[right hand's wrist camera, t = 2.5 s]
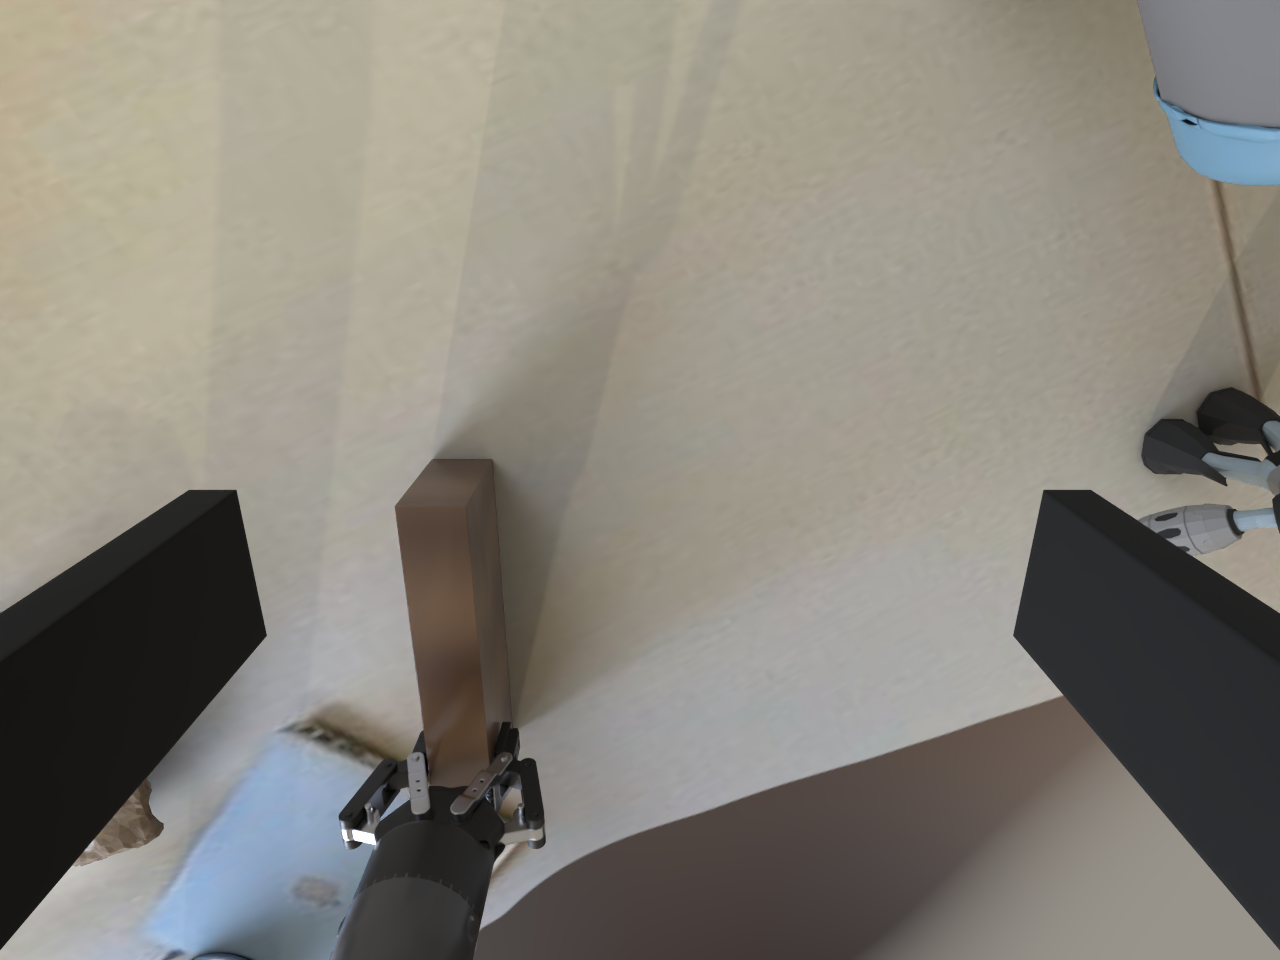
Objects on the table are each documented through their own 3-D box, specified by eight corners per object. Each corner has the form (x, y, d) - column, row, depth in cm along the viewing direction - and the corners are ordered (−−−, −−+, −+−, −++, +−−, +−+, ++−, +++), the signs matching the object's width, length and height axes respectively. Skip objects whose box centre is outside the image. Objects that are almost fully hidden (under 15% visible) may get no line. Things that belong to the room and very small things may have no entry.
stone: (211, 845, 64) (150, 899, 58) (85, 844, 68) (17, 894, 62) (129, 617, 60) (54, 651, 54) (1, 632, 64) (-80, 665, 58)
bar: (431, 458, 55) (394, 506, 47) (492, 459, 55) (466, 506, 47) (460, 733, 64) (434, 813, 55) (513, 733, 64) (494, 813, 55)
